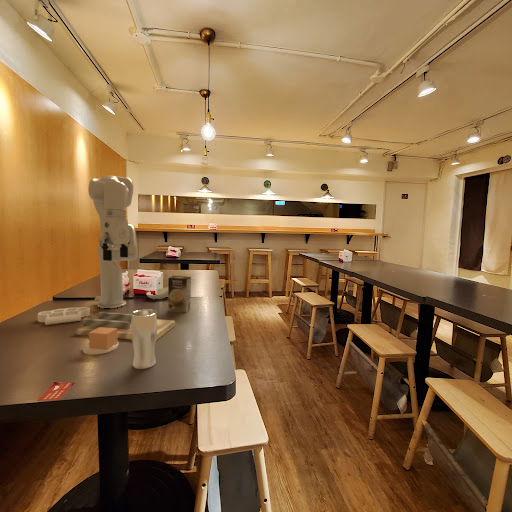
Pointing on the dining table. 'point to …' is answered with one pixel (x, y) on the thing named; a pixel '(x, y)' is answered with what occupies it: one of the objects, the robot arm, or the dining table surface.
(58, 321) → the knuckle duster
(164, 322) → the board
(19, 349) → the dining table surface
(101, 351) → the coaster
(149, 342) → the beer glass
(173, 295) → the coffee box
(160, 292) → the spoon rest
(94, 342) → the block
